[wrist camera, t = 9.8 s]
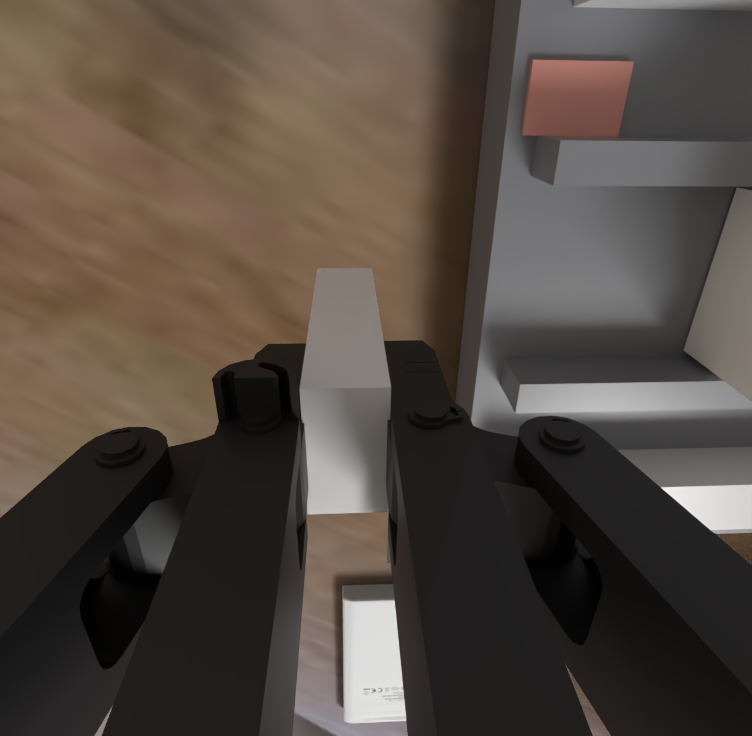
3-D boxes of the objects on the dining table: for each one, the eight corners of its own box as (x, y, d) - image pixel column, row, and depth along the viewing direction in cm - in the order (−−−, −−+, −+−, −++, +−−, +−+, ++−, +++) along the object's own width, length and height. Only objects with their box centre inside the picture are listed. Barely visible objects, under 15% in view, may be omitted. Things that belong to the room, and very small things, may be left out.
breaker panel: (1100, -175, 16) (1433, -293, 11) (775, 488, 28) (864, 570, 23) (515, -201, 15) (597, -345, 10) (445, 498, 27) (467, 585, 22)
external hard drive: (480, 573, 31) (459, 696, 36) (342, 577, 30) (343, 701, 36) (487, 597, 29) (463, 720, 35) (342, 601, 29) (343, 726, 34)
